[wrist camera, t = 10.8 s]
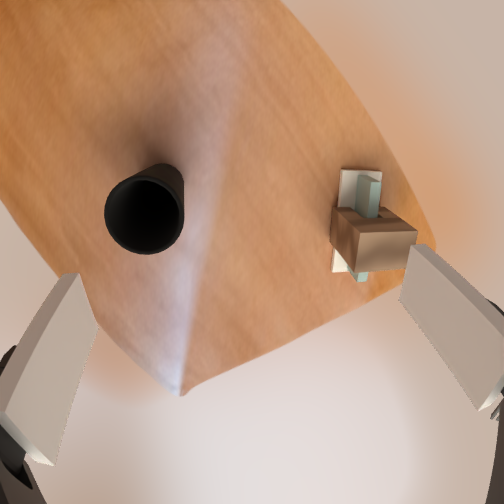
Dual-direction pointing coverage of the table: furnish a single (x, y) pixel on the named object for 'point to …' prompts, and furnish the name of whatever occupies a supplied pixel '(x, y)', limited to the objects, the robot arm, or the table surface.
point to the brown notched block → (371, 240)
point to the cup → (147, 210)
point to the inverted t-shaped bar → (357, 206)
